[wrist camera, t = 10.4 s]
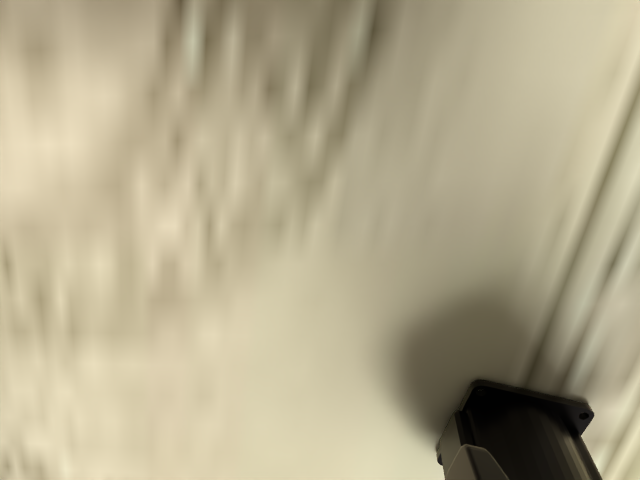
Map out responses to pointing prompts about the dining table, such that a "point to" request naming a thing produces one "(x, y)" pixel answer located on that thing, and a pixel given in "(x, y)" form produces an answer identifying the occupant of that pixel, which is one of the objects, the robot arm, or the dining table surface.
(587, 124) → the dining table surface
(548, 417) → the robot arm
